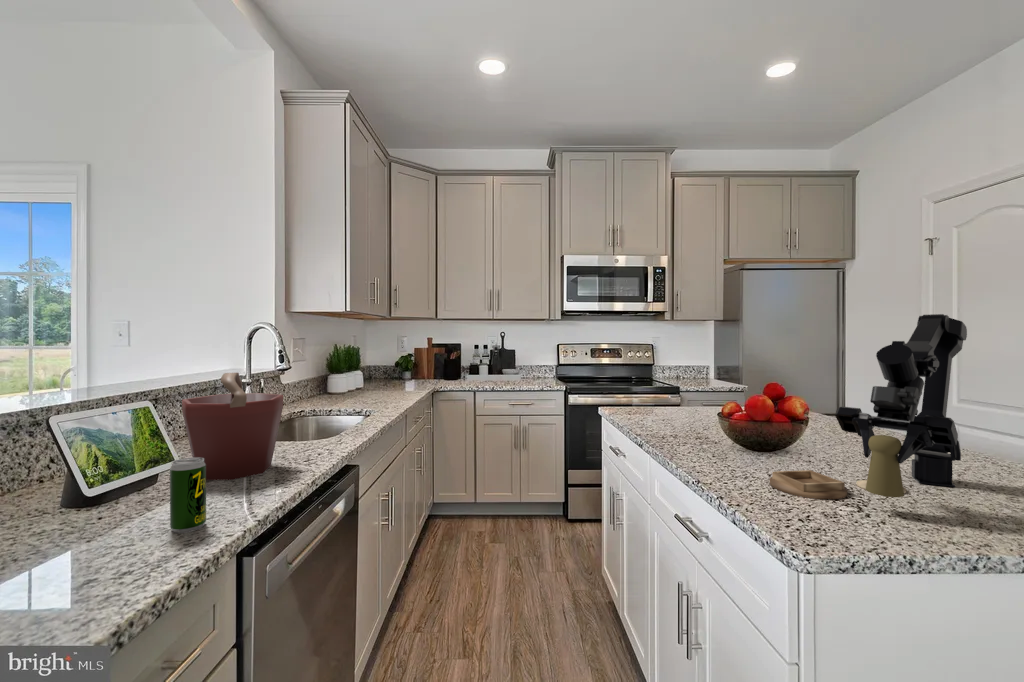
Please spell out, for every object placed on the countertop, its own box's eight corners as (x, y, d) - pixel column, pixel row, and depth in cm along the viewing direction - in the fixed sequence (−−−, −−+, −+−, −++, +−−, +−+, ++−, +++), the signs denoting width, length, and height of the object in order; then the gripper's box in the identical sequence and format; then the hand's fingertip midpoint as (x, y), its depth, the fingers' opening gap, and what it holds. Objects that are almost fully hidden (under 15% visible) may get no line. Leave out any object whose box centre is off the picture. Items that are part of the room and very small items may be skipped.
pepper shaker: (911, 498, 91) (912, 439, 90) (875, 496, 92) (875, 438, 92) (893, 488, 97) (893, 433, 96) (859, 486, 98) (859, 432, 98)
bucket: (265, 482, 113) (265, 376, 113) (158, 489, 108) (157, 377, 108) (288, 457, 137) (288, 369, 136) (201, 461, 132) (201, 370, 131)
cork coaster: (900, 485, 112) (900, 483, 112) (911, 496, 104) (911, 494, 104) (853, 480, 116) (853, 477, 116) (860, 490, 108) (860, 488, 108)
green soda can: (164, 535, 83) (163, 465, 83) (178, 523, 88) (177, 457, 88) (199, 532, 84) (198, 463, 84) (211, 520, 90) (210, 456, 90)
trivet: (811, 477, 118) (811, 466, 118) (865, 497, 103) (865, 485, 103) (755, 479, 116) (755, 469, 116) (801, 501, 101) (801, 488, 101)
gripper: (838, 368, 104) (816, 426, 97) (954, 374, 89) (936, 442, 82) (853, 402, 108) (832, 458, 102) (965, 412, 93) (948, 480, 87)
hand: (882, 459), depth 93 cm, fingers closed on pepper shaker, 5 cm apart
